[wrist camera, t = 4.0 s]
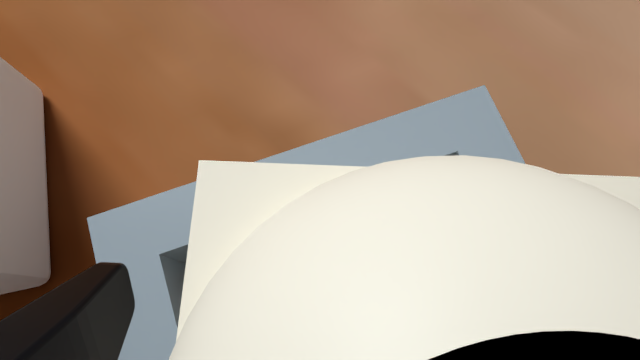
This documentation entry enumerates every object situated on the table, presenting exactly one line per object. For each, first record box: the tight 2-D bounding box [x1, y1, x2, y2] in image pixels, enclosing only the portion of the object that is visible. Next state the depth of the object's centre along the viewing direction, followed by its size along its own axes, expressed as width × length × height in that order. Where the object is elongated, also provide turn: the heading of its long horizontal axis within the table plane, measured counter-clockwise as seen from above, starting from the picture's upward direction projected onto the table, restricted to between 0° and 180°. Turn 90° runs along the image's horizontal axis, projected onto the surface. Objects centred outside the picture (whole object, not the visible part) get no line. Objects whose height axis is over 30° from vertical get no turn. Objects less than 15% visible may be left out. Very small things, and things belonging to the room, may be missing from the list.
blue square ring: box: [87, 85, 525, 360], centre depth 12 cm, size 11×11×4 cm
